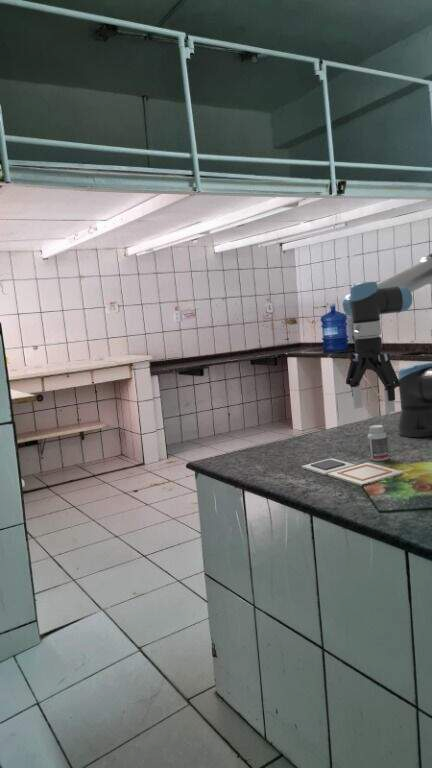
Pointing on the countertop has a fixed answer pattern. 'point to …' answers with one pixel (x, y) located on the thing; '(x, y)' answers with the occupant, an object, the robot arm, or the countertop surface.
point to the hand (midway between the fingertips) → (373, 410)
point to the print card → (364, 473)
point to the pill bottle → (377, 443)
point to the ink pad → (327, 466)
